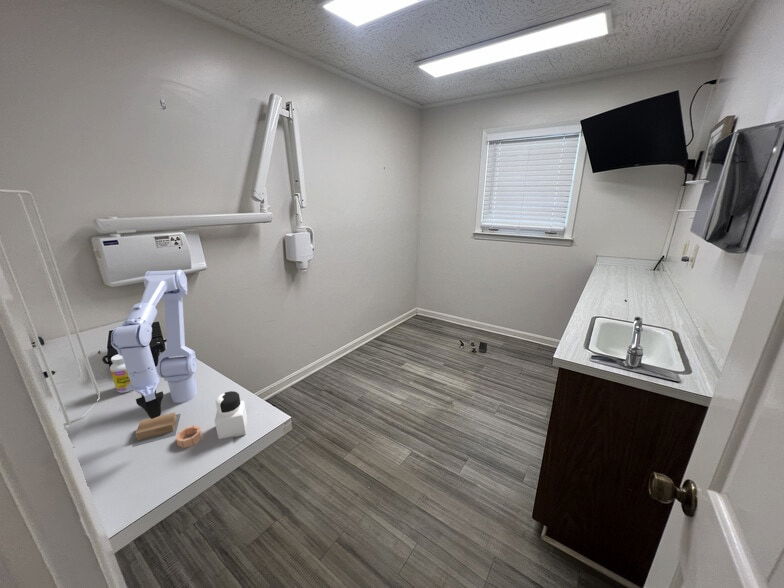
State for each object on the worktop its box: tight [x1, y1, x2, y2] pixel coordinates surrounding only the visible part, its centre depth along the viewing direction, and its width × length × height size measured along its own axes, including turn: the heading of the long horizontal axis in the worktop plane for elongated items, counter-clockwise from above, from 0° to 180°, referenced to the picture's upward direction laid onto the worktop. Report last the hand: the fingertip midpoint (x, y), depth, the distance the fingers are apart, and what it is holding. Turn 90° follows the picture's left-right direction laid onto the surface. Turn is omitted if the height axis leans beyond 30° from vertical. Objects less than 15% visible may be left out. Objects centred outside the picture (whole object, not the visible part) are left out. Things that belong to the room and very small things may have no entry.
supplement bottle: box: [109, 354, 133, 394], centre depth 108 cm, size 7×7×13 cm
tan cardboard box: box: [135, 411, 177, 440], centre depth 90 cm, size 6×8×2 cm, turn 115°
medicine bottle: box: [214, 390, 248, 440], centre depth 90 cm, size 7×7×12 cm
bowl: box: [175, 425, 203, 449], centre depth 87 cm, size 6×6×3 cm
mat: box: [131, 413, 181, 448], centre depth 91 cm, size 10×10×1 cm
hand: (153, 409), depth 86 cm, fingers open, 7 cm apart
